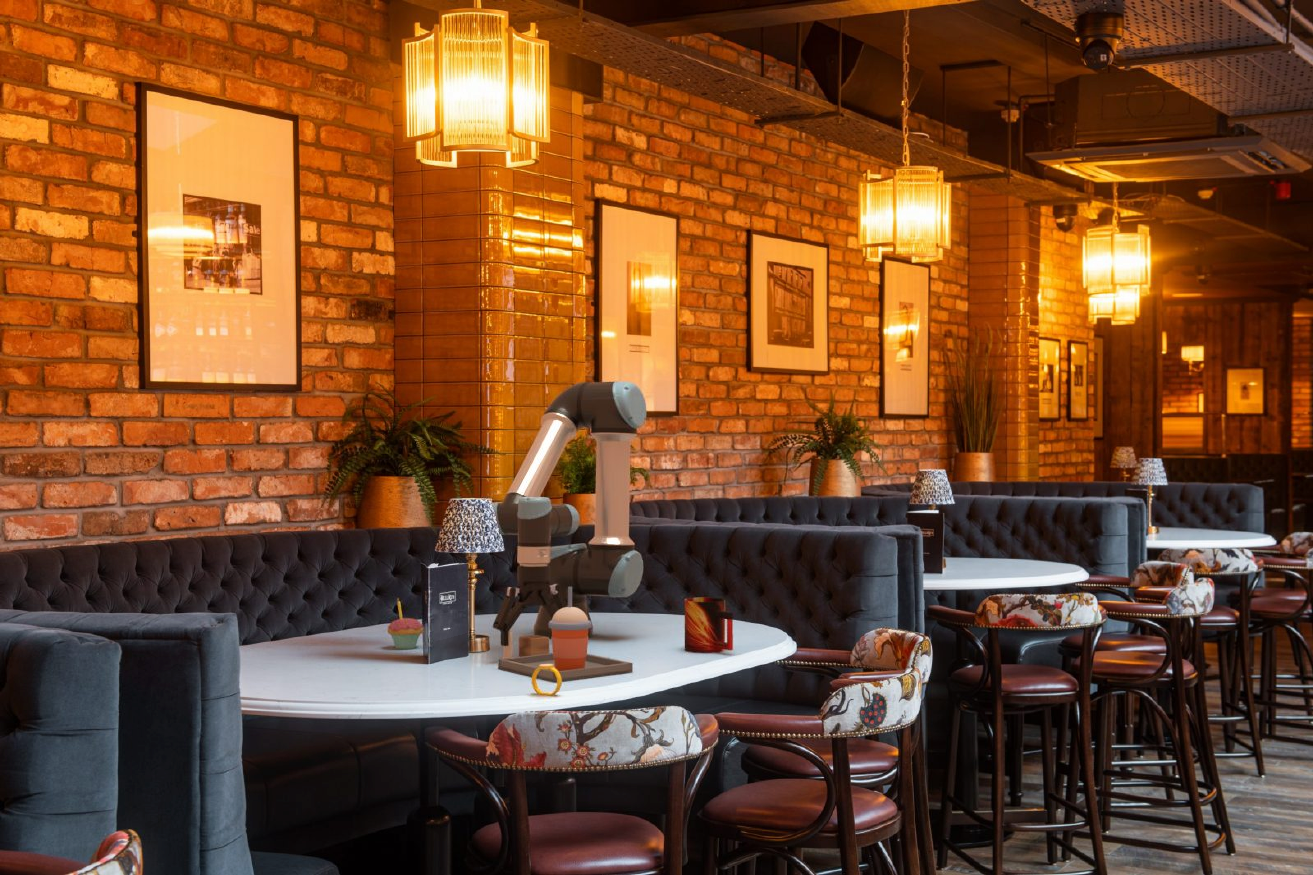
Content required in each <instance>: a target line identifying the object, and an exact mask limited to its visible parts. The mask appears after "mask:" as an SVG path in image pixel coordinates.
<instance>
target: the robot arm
mask: <svg viewBox="0 0 1313 875" xmlns="http://www.w3.org/2000/svg"><path fill="white" fill-rule="evenodd" d="M645 399H646V398H645V397H644V394H643V392H642V390H641V388H640V387H639V386H638V385H637V384H635V383H633V382H632V381H620V380H618V381H595V382H593V381H592V382H589V381H587V382H586V381H585V382H578V383H576V384H572V385H571V386H569V387H568V388H566V389H564V390H563V391H562V392H561V393H559V394H558V395H557V396H556V397H555V398H554V399H553V400H552V401H551V403H549V405H548V407H547V408H546V410H545V412H544V413H543V415H542V417H541V419H540V425H541V427H540V429H539V431H538V433H537V435H536V436H535V438H534V441H533V443H532V444H531V446H530V449H529V450H528V452H527V454H526V457H525V458H524V459H523V461H522V464H521V466H520V468H519V470H518V472H517V474H516V475H515V478H514V479H513V481H512V483H511V485H510V487H509V489H508V491H507V493H506V495H505V496H504V498H503V500H502V502H501V501H499V502H492V503H491V504H492V507H493V509H494V512H495V516H496V521H497V524H498V528H499V534H498V535H501V536H503V535H504V536H510V535H511V536H517V559H516V560H517V561H516V562H517V563H518V564H519V565H518V566H517V573H516V575H517V578H516V580H517V582H518V583H517V584H518V586H517V587H514V586H513V587H511V586H507V587H506V588H505V590H504V591H505V594H504V598H503V601H502V603H501V605H500V607H499V610H498V613H497V614H496V616H495V619H494V621H493V624H492V628H493V629H495V630H498V631H499V632H500V646H502V647H503V648H502V650H503V652H502V659H506V658H514V657H513V652H514V651H513V650H514V649H513V647H514V646H513V644H514V643H513V642H514V641H513V638H514V637H513V636H514V633H513V631H511V630H512V627H513V626H514V624H515V623H516V622H517V620H518V619H519V618H520V616H521V615H522V613H523V611H525V609H526V608H528V607H535V606H538V607H539V606H540V607H539V610H538V613H537V616H536V620H535V624H534V625H533V635H540V636H545V637H549V639H552V638H551V637H552V629H551V628H549V622H550V621H551V620H552V618H553V616H554V614H555V613H556V612H557V611H558V610H560V609H562V608H565V607H568V587H572V607H576V608H579V609H580V610H582V611H583V612H584V613H585V614H586V616H587V618H588V620H589V621H591V627H590V628H589V629H588V637H591V636H593V635H594V626H593V622H592V619H591V615H590V613H589V609H588V607H587V596H591V597H593V596H595V597H607V598H608V597H609V598H611V599H612V598H628V597H630V596H631V595H633V594H634V593H636V591H637V589H638V587H639V586H640V584H641V581H642V577H643V574H644V561H643V557H642V554H641V553H640V552H638V551H637V550H635V542H634V541H633V539H631V537H630V536H629V535H630V497H631V496H630V494H631V493H630V492H631V491H630V490H631V489H630V488H631V487H630V486H631V448H632V447H631V446H632V445H631V443H632V441H633V440H634V439H636V437H637V436H638V434H637V433H638V429H640V428H641V427H642V426H644V424H645V421H646V419H647V403H646V400H645ZM589 428H590V435H591V436H592V438H594V440H595V441H596V453H595V454H596V462H595V500H594V501H595V504H594V505H595V506H594V507H595V508H594V510H595V512H594V536H593V538H592V539H591V540H589V541H588V547H587V544H586V543H574V544H566V545H555V546H551V540H552V539H551V538H555V537H566V536H570V535H572V534H574V533H575V532H576V531H577V530H578V528H579V526H580V522H581V521H580V514H579V512H578V510H577V509H576V508H575V506H573V505H571V504H567V503H558V504H552V501H551V499H550V498H549V497H546V496H545V497H544V496H543V497H542V496H541V495H542V493H543V491H544V489H545V487H546V486H547V483H548V482H549V479H550V477H551V475H552V474H553V472H554V469H555V468H556V466H557V463H558V462H559V459H560V458H561V456H562V454H563V452H564V449H565V448H566V446H567V444H568V442H569V441H570V440H573V439H574V438H575V437H576V435H577V433H578V431H580V430H582V429H589ZM517 596H518V598H517ZM515 598H517V600H515ZM514 602H515V603H514ZM513 605H514V606H513Z"/></svg>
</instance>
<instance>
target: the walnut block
mask: <svg viewBox="0 0 1313 875" xmlns="http://www.w3.org/2000/svg"><path fill="white" fill-rule="evenodd" d="M541 654H550V638H549V637H545V636H540V635H534V634H533V635H525V636H524V635H523V636H518V657H524V656H533V655H541Z"/></svg>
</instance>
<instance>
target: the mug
mask: <svg viewBox="0 0 1313 875" xmlns="http://www.w3.org/2000/svg"><path fill="white" fill-rule="evenodd" d="M733 615H734V614H733V612H732V611H726V599H725V598H721V597H720V598H719V597H688V598H685V599H684V651H685V652H688V653H693V654H717V653H723V652H725V651H734V632H733V630H734V628H733V627H734V626H733V625H734V624H733V618H734V617H733Z"/></svg>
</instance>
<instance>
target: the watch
mask: <svg viewBox="0 0 1313 875" xmlns="http://www.w3.org/2000/svg"><path fill="white" fill-rule="evenodd" d="M541 669H550V670H551V671H553V672H554V674H555V676H556V678H557V682H556V688H555V689H554V691H553V692H545V691H542V690H541V689H540V687H539V686H538V683H537V678H536V677H537V674H538V672H539V670H541ZM531 685H532V686H531V687H532V688H533V691H535V693H536V694H537V695H539V696H555V695H556V694H557V693H559V691H560V690H561V687H562V679H561V675H560V673H559V671H558V670H557V669H556V668H554V667H553V664H541V665H539V668H537V669H536V670H535V671H534V673H533V675H532V677H531Z"/></svg>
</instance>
